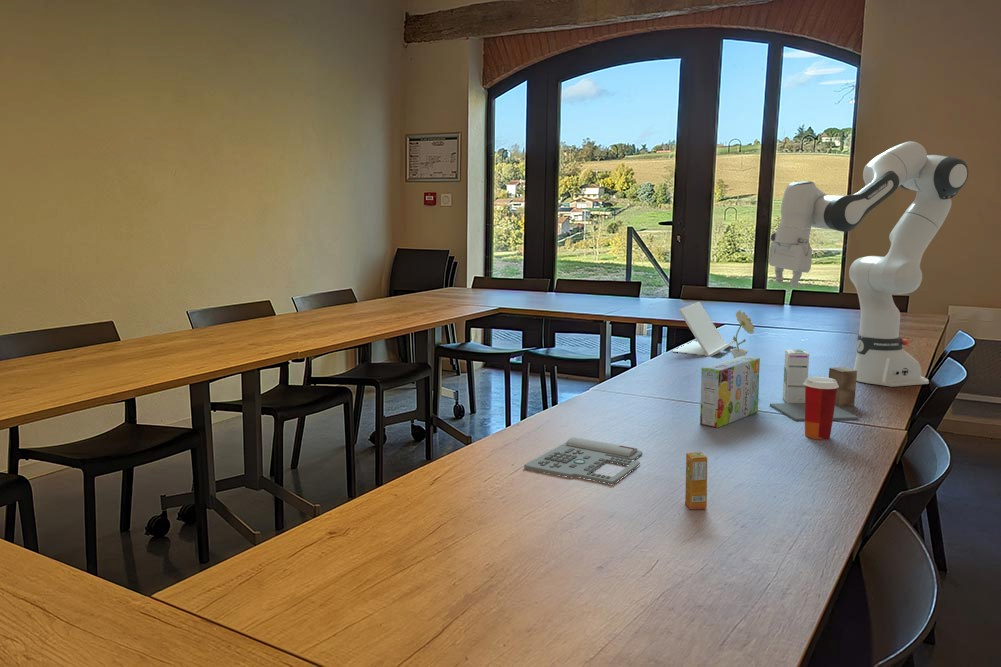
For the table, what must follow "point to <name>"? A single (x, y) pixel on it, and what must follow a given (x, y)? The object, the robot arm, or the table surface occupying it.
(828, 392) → the paper cup
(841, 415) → the mat
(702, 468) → the supplement box
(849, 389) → the walnut block
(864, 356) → the robot arm
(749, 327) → the flower in vase
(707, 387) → the snack box
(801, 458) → the table surface
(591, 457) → the office telephone
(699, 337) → the tablet stand
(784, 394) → the syrup box
